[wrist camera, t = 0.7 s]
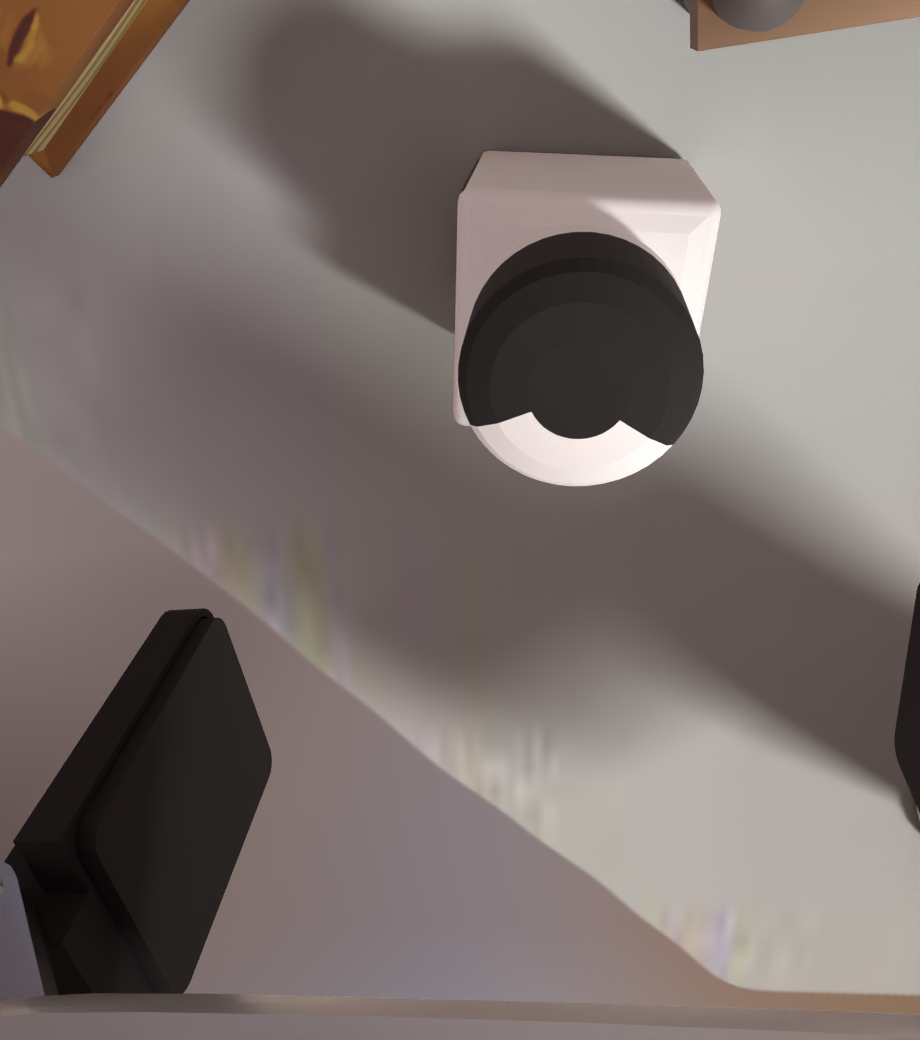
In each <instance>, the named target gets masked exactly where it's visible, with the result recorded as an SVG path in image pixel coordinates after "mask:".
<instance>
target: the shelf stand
mask: <svg viewBox="0 0 920 1040" xmlns="http://www.w3.org/2000/svg"><path fill="white" fill-rule="evenodd" d="M682 2H683V5H684V7H685V8H686V10H687V11H688V12H689V13H690V48H692V49H694V50H696V51H703V50H709V49H715V48H722V47H728V46H735V45H741V44H748V43H754V42H760V41H767V40H773V39H780V38H786V37H793V36H799V35H805V34H812V33H818V32H825V31H831V30H837V29H844V28H850V27H857V26H863V25H870V24H876V23H882V22H889V21H895V20H902V19H908V18H915V17H920V0H682Z"/></svg>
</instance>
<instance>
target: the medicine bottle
mask: <svg viewBox="0 0 920 1040" xmlns="http://www.w3.org/2000/svg"><path fill="white" fill-rule="evenodd" d="M720 216H721V208H720V205H719V204H718V202H717V201H716V200H715V198H714V197H713V196H712V194H711V193H710V191H709V190H708V189H707V187H706V186H705V184H704V183H703V182H702V180H701V179H700V178H699V176H698V175H697V173H696V172H695V171H694V169H693V168H692V166H691V165H690V164H689V162H688V161H686V160H683V159H671V158H648V157H625V156H601V155H578V154H554V153H531V152H508V151H486V152H483V153H482V154H481V155H480V156H479V158H478V160H477V162H476V164H475V166H474V168H473V170H472V172H471V174H470V175H469V177H468V179H467V181H466V183H465V185H464V187H463V189H462V191H461V193H460V195H459V199H458V214H457V260H456V306H455V352H454V399H453V414H454V418H455V421H456V422H457V423H458V424H460V425H463V426H471V427H472V429H473V431H474V432H475V434H476V435H477V437H478V438H479V440H480V441H481V442H482V443H483V444H484V446H485V447H486V448H487V449H488V450H489V451H490V452H491V453H492V454H493V455H494V456H495V457H497V458H498V459H499V460H500V461H502V462H503V463H504V464H506V465H507V466H509V467H510V468H512V469H514V470H515V471H517V472H519V473H521V474H523V475H525V476H528V477H530V478H533V479H536V480H539V481H542V482H547V483H551V484H555V485H565V486H590V485H597V484H604V483H608V482H611V481H615V480H619V479H621V478H624V477H626V476H629V475H631V474H634V473H636V472H637V471H639V470H641V469H643V468H645V467H647V466H648V465H650V464H651V463H652V462H654V461H655V460H656V459H658V458H659V457H661V456H662V455H663V454H664V453H665V452H666V451H667V450H668V449H669V448H670V447H671V446H672V445H673V444H674V443H675V442H676V440H677V439H678V438H679V437H680V436H681V434H682V433H683V432H684V430H685V428H686V427H687V425H688V423H689V422H690V420H691V418H692V416H693V414H694V411H695V409H696V407H697V404H698V401H699V397H700V393H701V389H702V382H703V373H704V369H703V353H702V348H701V343H700V339H699V334H700V328H701V323H702V317H703V312H704V306H705V300H706V295H707V289H708V284H709V278H710V272H711V267H712V261H713V256H714V250H715V244H716V239H717V233H718V228H719V222H720Z"/></svg>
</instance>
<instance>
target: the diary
mask: <svg viewBox="0 0 920 1040" xmlns="http://www.w3.org/2000/svg"><path fill="white" fill-rule="evenodd" d="M189 1H190V0H0V187H1V186H2V184H3V183H4V182H5V180H6V179H7V177H8V176H9V175H10V173H11V172H12V170H13V169H14V168H15V166H16V165H17V163H18V162H19V161H20V159H21V158H22V156H25V155H28V156H30V157H31V158H32V159H33V160H34V161H35V162H36V163H37V164H38V165H39V166H40V167H41V168H42V169H43V170H44V171H45V172H46V173H47V174H48V175H49V176H50V177H55V176H57V175H59V174H60V173H61V171H62V170H63V169H64V167H65V166H66V165H67V163H68V162H69V161H70V159H71V158H72V157H73V155H74V154H75V153H76V151H77V150H78V149H79V147H80V146H81V145H82V143H83V142H84V141H85V139H86V138H87V137H88V135H89V134H90V133H91V131H92V130H93V129H94V127H95V126H96V125H97V123H98V122H99V121H100V119H101V118H102V117H103V115H104V114H105V113H106V111H107V110H108V109H109V107H110V106H111V105H112V103H113V102H114V101H115V99H116V98H117V97H118V95H119V94H120V93H121V91H122V90H123V89H124V87H125V86H126V85H127V83H128V82H129V81H130V79H131V78H132V77H133V75H134V74H135V73H136V71H137V70H138V69H139V67H140V66H141V65H142V63H143V62H144V61H145V59H146V58H147V57H148V55H149V54H150V53H151V51H152V50H153V49H154V47H155V46H156V45H157V43H158V42H159V41H160V39H161V38H162V37H163V35H164V34H165V33H166V31H167V30H168V29H169V27H170V26H171V25H172V23H173V22H174V21H175V19H176V18H177V17H178V15H179V14H180V13H181V11H182V10H183V9H184V7H185V6H186V5H187V3H188V2H189Z"/></svg>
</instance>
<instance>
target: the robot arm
mask: <svg viewBox="0 0 920 1040" xmlns="http://www.w3.org/2000/svg"><path fill="white" fill-rule="evenodd" d="M895 750H896V755H897V759H898V762H899V765H900V768H901V770H902V772H903V775H904V777H905V779H906V782H907V784H908V786H909V789H910V791H911V793H912V796H913V798H914V800H915V803H916V805H917V809H916V810H917V814H918V817H919V821H920V584H919V586H918V589H917V594H916V600H915V607H914V613H913V620H912V626H911V633H910V639H909V645H908V652H907V658H906V665H905V671H904V678H903V684H902V691H901V697H900V704H899V710H898V717H897V723H896V730H895ZM271 762H272V758H271V751H270V747H269V745H268V742H267V739H266V736H265V733H264V731H263V728H262V725H261V722H260V720H259V717H258V714H257V711H256V709H255V705H254V703H253V700H252V698H251V694H250V692H249V689H248V686H247V683H246V680H245V678H244V675H243V672H242V669H241V667H240V664H239V661H238V658H237V655H236V653H235V650H234V647H233V645H232V642H231V639H230V636H229V633H228V630H227V628H226V625H225V623H224V621H223V620H222V619H220V618H214V617H213V615H212V613H211V612H210V611H209V610H207V609H185V610H170V611H167V612H165V613H164V614H163V615H162V616H161V618H160V619H159V621H158V622H157V624H156V625H155V627H154V628H153V630H152V631H151V633H150V634H149V636H148V637H147V639H146V640H145V642H144V644H143V645H142V647H141V648H140V650H139V651H138V653H137V654H136V656H135V657H134V659H133V660H132V662H131V663H130V665H129V666H128V668H127V669H126V671H125V672H124V674H123V675H122V677H121V678H120V680H119V681H118V683H117V684H116V686H115V687H114V689H113V691H112V692H111V693H110V695H109V697H108V698H107V700H106V701H105V703H104V704H103V706H102V707H101V709H100V710H99V712H98V714H97V715H96V716H95V718H94V719H93V721H92V722H91V724H90V725H89V727H88V728H87V730H86V731H85V733H84V734H83V736H82V737H81V739H80V741H79V742H78V744H77V745H76V747H75V748H74V750H73V751H72V753H71V754H70V756H69V757H68V759H67V760H66V762H65V763H64V765H63V766H62V768H61V770H60V771H59V772H58V774H57V775H56V777H55V778H54V780H53V781H52V783H51V785H50V786H49V788H48V789H47V791H46V792H45V794H44V795H43V797H42V798H41V800H40V801H39V803H38V804H37V806H36V807H35V809H34V810H33V812H32V814H31V815H30V817H29V818H28V819H27V821H26V822H25V824H24V826H23V827H22V829H21V830H20V832H19V833H18V835H17V836H16V838H15V839H14V841H13V842H14V844H15V846H14V848H13V849H12V851H11V852H10V854H9V856H8V857H7V859H6V860H5V862H3V861H1V860H0V1040H920V1015H913V1014H893V1013H872V1012H850V1011H849V1012H848V1011H817V1010H788V1009H758V1008H756V1009H755V1008H728V1007H725V1008H724V1007H696V1006H665V1005H635V1004H601V1003H564V1002H530V1001H494V1000H456V999H417V998H378V997H332V996H327V997H326V996H287V995H240V994H183V993H184V991H185V990H186V989H187V987H188V985H189V983H190V981H191V978H192V975H193V973H194V970H195V968H196V965H197V963H198V960H199V957H200V955H201V952H202V949H203V947H204V944H205V942H206V939H207V937H208V934H209V931H210V929H211V926H212V924H213V921H214V918H215V916H216V913H217V911H218V908H219V905H220V903H221V900H222V898H223V895H224V892H225V890H226V887H227V884H228V882H229V880H230V877H231V874H232V872H233V869H234V867H235V864H236V861H237V859H238V856H239V854H240V851H241V848H242V846H243V843H244V840H245V838H246V835H247V833H248V830H249V828H250V825H251V822H252V820H253V817H254V815H255V812H256V810H257V807H258V804H259V801H260V799H261V797H262V794H263V791H264V789H265V786H266V784H267V781H268V778H269V775H270V772H271V765H272V764H271Z"/></svg>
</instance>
